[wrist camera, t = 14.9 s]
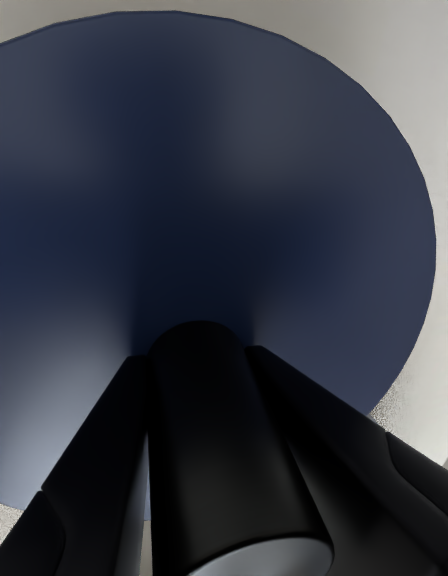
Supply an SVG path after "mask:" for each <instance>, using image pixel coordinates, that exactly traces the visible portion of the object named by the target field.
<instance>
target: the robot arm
mask: <svg viewBox="0 0 448 576" xmlns="http://www.w3.org/2000/svg"><path fill="white" fill-rule="evenodd" d="M244 351H245V353H246V355H247V357H248V359H249V361H250V364H251V366H252V368H253V370H254V372H255V374H256V377H257V379H258V381H259V383H260V385H261V387H262V389H263V392H264V394H265V396H266V398H267V400H268V402H269V405H270V407H271V409H272V411H273V413H274V415H275V418H276V420H277V422H278V424H279V426H280V428H281V430H282V433H283V435H284V437H285V439H286V441H287V443H288V446H289V448H290V450H291V452H292V454H293V456H294V459H295V461H296V463H297V465H298V467H299V469H300V472H301V474H302V476H303V478H304V480H305V482H306V484H307V487H308V489H309V491H310V493H311V495H312V497H313V500H314V502H315V504H316V506H317V508H318V510H319V513H320V515H321V517H322V519H323V521H324V523H325V525H326V528H327V530H328V532H329V534H330V536H331V538H332V541H333V544H334V551H335V557H334V562H333V564H332V566H331V568H330V570H329V571H328V573H327V574H326V575H325V576H448V470H447V469H445V468H443V467H442V466H440V465H439V464H437V463H435V462H434V461H432V460H431V459H429V458H428V457H426V456H424V455H423V454H421V453H420V452H418V451H417V450H415V449H414V448H412V447H411V446H409V445H408V444H406V443H405V442H403V441H402V440H400V439H399V438H397V437H396V436H394V435H393V434H392V433H390V432H388V431H387V432H385V429H384V428H383V427H381V426H380V425H378V424H377V423H375V422H374V421H372V420H371V419H369V418H368V417H366V416H365V415H363V414H362V413H361V412H359V411H358V410H356V409H355V408H353V407H352V406H350V405H349V404H347V403H346V402H344V401H343V400H341V399H340V398H339V397H337V396H336V395H334V394H333V393H331V392H330V391H328V390H327V389H325V388H324V387H322V386H321V385H319V384H318V383H317V382H315V381H314V380H312V379H311V378H309V377H308V376H306V375H305V374H303V373H302V372H300V371H299V370H297V369H296V368H295V367H293V366H292V365H290V364H289V363H287V362H286V361H284V360H283V359H281V358H280V357H278V356H277V355H275V354H274V353H273V352H271V351H270V350H268V349H267V348H265V347H264V346H262V345H254V346H247V347H246V348H245V350H244ZM147 419H148V394H147V369H146V356H145V355H133V356H128V357H126V359H125V360H124V362H123V363H122V365H121V366H120V368H119V369H118V371H117V372H116V374H115V375H114V377H113V378H112V380H111V381H110V383H109V384H108V386H107V387H106V389H105V390H104V392H103V393H102V395H101V396H100V398H99V399H98V401H97V402H96V404H95V406H94V407H93V409H92V410H91V412H90V413H89V415H88V416H87V418H86V419H85V421H84V422H83V424H82V425H81V427H80V428H79V430H78V431H77V433H76V434H75V436H74V437H73V439H72V440H71V442H70V443H69V445H68V446H67V448H66V449H65V451H64V452H63V454H62V455H61V457H60V458H59V460H58V461H57V463H56V464H55V466H54V467H53V469H52V470H51V472H50V473H49V475H48V476H47V478H46V479H45V481H44V482H43V484H42V485H41V490H40V491H38V492H37V493H36V494H35V496H34V497H33V499H32V500H31V502H30V503H29V505H28V506H27V508H26V509H25V511H24V512H23V514H22V515H21V517H20V518H19V520H18V521H17V522H16V524H15V525H14V527H13V528H12V530H11V531H10V533H9V534H8V535H7V537H6V538H5V540H4V541H3V543H2V544H1V545H0V576H139V574H140V562H141V550H142V538H143V526H144V514H145V502H146V490H147V478H148V466H149V460H148V433H147Z"/></svg>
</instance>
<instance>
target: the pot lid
mask: <svg viewBox="0 0 448 576" xmlns="http://www.w3.org/2000/svg"><path fill="white" fill-rule="evenodd" d="M435 270H436V234H435V225H434V216H433V209H432V205H431V202H430V198H429V194H428V191H427V187H426V183H425V179H424V177H423V175H422V172H421V170H420V168H419V166H418V164H417V161H416V159H415V157H414V155H413V152H412V150H411V148H410V146H409V145H408V143H407V142H406V140H405V139H404V137H403V136H402V134H401V132H400V131H399V129H398V128H397V126H396V125H395V123H394V122H393V120H392V119H391V117H390V116H389V115H388V114H387V113H386V112H385V110H384V109H383V108H382V107H381V106H380V105H379V104H378V103H377V102H376V101H375V100H374V99H373V98H372V97H371V95H370V94H369V93H368V92H367V91H366V90H365V89H364V88H363V87H362V86H361V85H360V84H359V83H357V82H356V81H355V80H353V79H352V78H351V77H350V76H348V75H347V74H346V73H344V72H343V71H342V70H340V69H339V68H338V67H336V66H335V65H334V64H332V63H331V62H330V61H329V60H327V59H326V58H324V57H322V56H320V55H319V54H317V53H315V52H313V51H311V50H309V49H307V48H305V47H303V46H301V45H300V44H298V43H296V42H294V41H292V40H290V39H288V38H286V37H284V36H282V35H279V34H276V33H273V32H270V31H267V30H264V29H261V28H258V27H255V26H252V25H249V24H246V23H243V22H240V21H237V20H234V19H229V18H222V17H216V16H209V15H202V14H196V13H189V12H182V11H176V10H172V11H115V12H110V13H105V14H99V15H94V16H89V17H83V18H78V19H73V20H67V21H62V22H57V23H53V24H50V25H48V26H45V27H42V28H39V29H37V30H34V31H31V32H29V33H26V34H23V35H21V36H18V37H15V38H13V39H10V40H7V41H5V42H2V43H0V504H3V505H6V506H8V507H12V508H16V509H20V510H23V511H25V509H26V508H27V506H28V505H29V503H30V502H31V500H32V499H33V497H34V496H35V494H36V493H37V492H38V491H40V490H41V485H42V484H43V482H44V481H45V479H46V478H47V476H48V475H49V473H50V472H51V470H52V469H53V467H54V466H55V464H56V463H57V461H58V460H59V458H60V457H61V455H62V454H63V452H64V451H65V449H66V448H67V446H68V445H69V443H70V442H71V440H72V439H73V437H74V436H75V434H76V433H77V431H78V430H79V428H80V427H81V425H82V424H83V422H84V421H85V419H86V418H87V416H88V415H89V413H90V412H91V410H92V409H93V407H94V406H95V404H96V402H97V401H98V399H99V398H100V396H101V395H102V393H103V392H104V390H105V389H106V387H107V386H108V384H109V383H110V381H111V380H112V378H113V377H114V375H115V374H116V372H117V371H118V369H119V368H120V366H121V365H122V363H123V362H124V360H125V359H126V357H128V356H133V355H145V356H146V369H147V394H148V419H147V433H148V460H149V466H148V478H147V490H146V502H145V514H144V521H147V520H151V542H152V570H153V576H325V575H326V574H327V573H328V571H329V570H330V568H331V566H332V564H333V562H334V557H335V551H334V544H333V541H332V538H331V536H330V534H329V532H328V530H327V528H326V525H325V523H324V521H323V519H322V517H321V515H320V513H319V510H318V508H317V506H316V504H315V502H314V500H313V497H312V495H311V493H310V491H309V489H308V487H307V484H306V482H305V480H304V478H303V476H302V474H301V472H300V469H299V467H298V465H297V463H296V461H295V459H294V456H293V454H292V452H291V450H290V448H289V446H288V443H287V441H286V439H285V437H284V435H283V433H282V430H281V428H280V426H279V424H278V422H277V420H276V418H275V415H274V413H273V411H272V409H271V407H270V405H269V402H268V400H267V398H266V396H265V394H264V392H263V389H262V387H261V385H260V383H259V381H258V379H257V377H256V374H255V372H254V370H253V368H252V366H251V364H250V361H249V359H248V357H247V355H246V353H245V351H244V350H245V348H246V347H247V346H254V345H262V346H264V347H265V348H267V349H268V350H270V351H271V352H273V353H274V354H275V355H277V356H278V357H280V358H281V359H283V360H284V361H286V362H287V363H289V364H290V365H292V366H293V367H295V368H296V369H297V370H299V371H300V372H302V373H303V374H305V375H306V376H308V377H309V378H311V379H312V380H314V381H315V382H317V383H318V384H319V385H321V386H322V387H324V388H325V389H327V390H328V391H330V392H331V393H333V394H334V395H336V396H337V397H339V398H340V399H341V400H343V401H344V402H346V403H347V404H349V405H350V406H352V407H353V408H355V409H356V410H358V411H359V412H361V413H362V414H363V415H365V416H367V415H368V414H369V413H370V412H371V411H372V410H373V409H374V407H375V406H376V405H377V404H378V402H379V401H380V400H381V399H382V397H383V396H384V395H385V394H386V392H387V391H388V390H389V388H390V387H391V385H392V384H393V382H394V381H395V379H396V378H397V376H398V375H399V373H400V372H401V370H402V369H403V367H404V365H405V363H406V361H407V359H408V357H409V356H410V354H411V352H412V350H413V348H414V346H415V343H416V341H417V339H418V336H419V334H420V331H421V329H422V326H423V324H424V321H425V317H426V314H427V310H428V307H429V303H430V300H431V295H432V289H433V283H434V276H435Z"/></svg>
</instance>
